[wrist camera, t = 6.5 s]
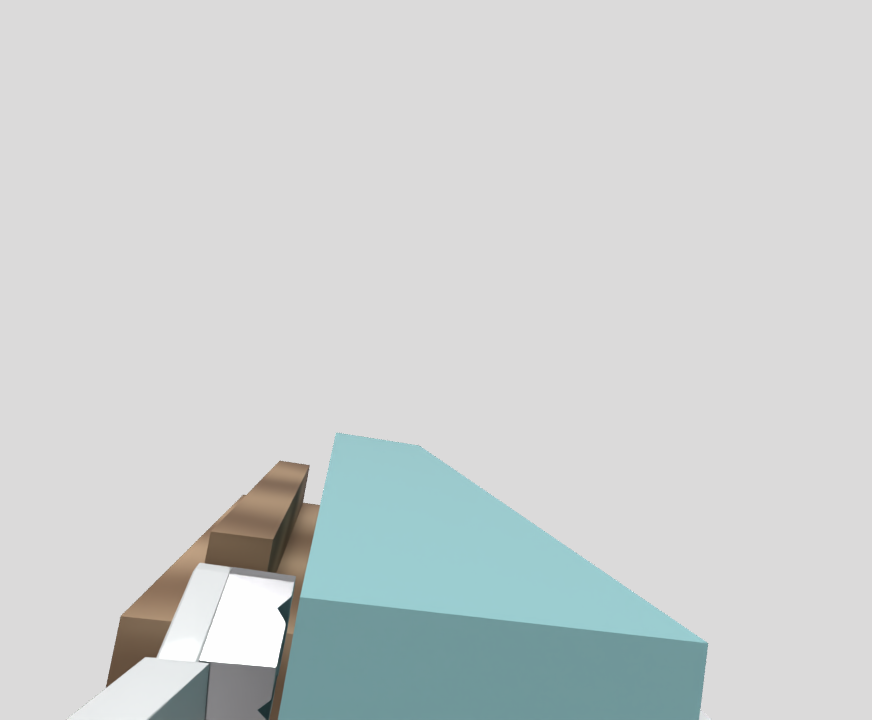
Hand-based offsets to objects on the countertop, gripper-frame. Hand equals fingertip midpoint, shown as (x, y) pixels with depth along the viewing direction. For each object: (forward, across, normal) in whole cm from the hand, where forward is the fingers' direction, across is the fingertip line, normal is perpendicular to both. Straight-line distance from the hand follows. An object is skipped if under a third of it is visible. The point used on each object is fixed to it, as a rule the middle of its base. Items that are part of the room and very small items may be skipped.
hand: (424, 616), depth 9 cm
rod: (+5, 0, -5) cm, 7 cm away
